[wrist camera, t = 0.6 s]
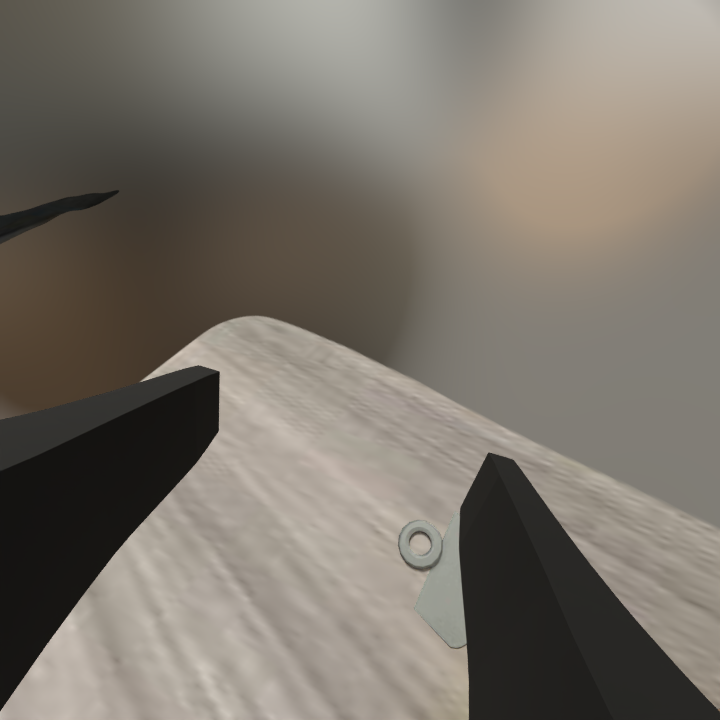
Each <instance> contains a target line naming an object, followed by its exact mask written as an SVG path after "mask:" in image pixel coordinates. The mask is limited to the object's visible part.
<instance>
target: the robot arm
mask: <svg viewBox="0 0 720 720" xmlns="http://www.w3.org/2000/svg"><path fill="white" fill-rule="evenodd" d="M219 375H220V372H219V371H216V370H212V369H209V368H206V367H202V366H199V365H198V366H194V367H189V368H186V369H182V370H179V371H175V372H172V373H169V374H165V375H162V376H159V377H156V378H152V379H149V380H146V381H143V382H140V383H136V384H133V385H130V386H127V387H123V388H120V389H117V390H114V391H111V392H107V393H104V394H100V395H96V396H93V397H89V398H85V399H82V400H78V401H75V402H71V403H67V404H64V405H60V406H57V407H53V408H49V409H45V410H41V411H37V412H33V413H28V414H25V415H20V416H16V417H12V418H6V419H2V420H0V711H1V709H2V708H3V707H4V705H5V704H6V702H7V701H8V699H9V698H10V696H11V695H12V694H13V692H14V691H15V689H16V688H17V686H18V685H19V684H20V682H21V681H22V679H23V678H24V676H25V675H26V674H27V672H28V671H29V669H30V668H31V666H32V665H33V663H34V662H35V661H36V659H37V658H38V656H39V655H40V653H41V652H42V651H43V649H44V648H45V646H46V645H47V643H48V642H49V641H50V639H51V638H52V637H53V635H54V634H55V633H56V631H57V630H58V628H59V627H60V626H61V624H62V623H63V622H64V620H65V619H66V618H67V616H68V615H69V613H70V612H71V611H72V609H73V608H74V607H75V605H76V604H77V603H78V601H79V600H80V598H81V597H82V596H83V594H84V593H85V592H86V590H87V589H88V588H89V587H90V585H91V584H92V583H93V581H94V580H95V579H96V577H97V576H98V575H99V574H100V572H101V571H102V570H103V568H104V567H105V566H106V564H107V563H108V562H109V561H110V559H111V558H112V557H113V555H114V554H115V553H116V552H117V550H118V549H119V548H120V547H121V546H122V545H123V543H124V542H125V541H126V540H127V539H128V538H129V536H130V535H131V534H132V533H133V532H134V531H135V530H136V529H137V528H138V526H139V525H140V524H141V523H142V522H143V521H144V520H145V519H146V518H147V517H148V516H149V514H150V513H151V512H152V511H153V510H154V509H155V508H156V507H157V506H158V505H159V504H160V502H161V501H162V500H163V499H164V498H165V497H166V496H167V495H168V494H169V493H170V492H171V490H172V489H173V488H174V487H175V486H176V485H177V484H178V483H179V482H180V481H181V479H182V478H183V477H184V476H185V475H186V474H187V473H188V472H189V471H190V469H191V468H192V467H193V466H194V465H195V464H196V463H197V461H198V460H199V459H200V457H201V456H202V454H203V453H204V452H205V450H206V449H207V448H208V446H209V445H210V443H211V442H212V440H213V439H214V437H215V436H216V434H217V433H218V431H219ZM459 558H460V571H461V583H462V595H463V607H464V618H465V630H466V642H467V653H468V673H469V720H720V711H719V710H718V709H717V708H716V707H715V706H714V705H713V704H712V703H711V702H710V701H709V700H708V699H707V698H706V697H705V696H704V695H703V694H702V693H701V692H700V691H699V689H698V688H697V687H696V686H695V685H694V684H693V683H692V682H691V681H690V680H689V679H688V678H687V677H686V676H685V675H684V673H683V672H682V671H681V670H680V669H679V668H678V667H677V666H676V665H675V664H674V662H673V661H672V660H671V659H670V658H669V657H668V656H667V655H666V653H665V652H664V651H663V650H662V649H661V648H660V647H659V646H658V644H657V643H656V642H655V641H654V640H653V639H652V638H651V637H650V635H649V634H648V633H647V632H646V631H645V630H644V629H643V628H642V626H641V625H640V624H639V623H638V622H637V621H636V620H635V618H634V617H633V616H632V615H631V614H630V612H629V611H628V610H627V609H626V608H625V607H624V605H623V604H622V603H621V602H620V601H619V599H618V598H617V597H616V596H615V594H614V593H613V592H612V591H611V589H610V588H609V587H608V586H607V585H606V583H605V582H604V581H603V580H602V578H601V577H600V576H599V575H598V573H597V572H596V571H595V570H594V568H593V567H592V566H591V565H590V563H589V562H588V561H587V559H586V558H585V557H584V556H583V554H582V553H581V552H580V550H579V549H578V548H577V546H576V545H575V544H574V542H573V541H572V540H571V538H570V537H569V536H568V534H567V533H566V532H565V530H564V529H563V528H562V526H561V525H560V523H559V522H558V521H557V519H556V518H555V517H554V515H553V514H552V512H551V511H550V510H549V508H548V507H547V505H546V504H545V503H544V501H543V500H542V498H541V497H540V496H539V494H538V493H537V491H536V490H535V489H534V487H533V486H532V484H531V483H530V482H529V480H528V479H527V477H526V476H525V475H524V473H523V472H522V470H521V469H520V468H519V466H518V465H517V464H516V462H515V461H514V460H513V459H509V458H506V457H503V456H499V455H496V454H493V453H489V452H488V454H487V456H486V458H485V460H484V462H483V464H482V466H481V468H480V470H479V472H478V474H477V476H476V478H475V480H474V482H473V484H472V486H471V488H470V490H469V492H468V494H467V496H466V498H465V500H464V502H463V504H462V506H461V508H460V525H459Z"/></svg>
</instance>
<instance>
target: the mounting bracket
mask: <svg viewBox="0 0 720 720" xmlns="http://www.w3.org/2000/svg"><path fill="white" fill-rule="evenodd" d="M459 525H460V515H459V514H458V513H457V512H454V514H453V517H452V519H451V521H450V524H449V526H448V529H447V531H446V533H445V536H444V538H443V540H442V538H441V535H440V532H439V531H438V530H437V529H436V528H435V526H434V525H432V524H430V523H428V522H427V521H422V520H416V521H412V522H409V523H408V524H407V525H406V526H405V527H404V528H403V529H402V531H401V533H400V535H399V542H398V546H399V550H400V554H401V556H402V557H403V558H404V560H405V561H406V563H408V564H410V565H411V566H413V567H414V568H420V569H425V568H429V567H431V569H430V571H429V574H428V576H427V578H426V581H425V583H424V586H423V588H422V590H421V593H420V595H419V597H418V600H417V602H416V605H415V607H414V610H415V611H416V612H417V613H418V614H419V615H420V616H421V617H422V618H423V619H424V620H425V621H426V622H427V623H428V624H429V625H430V626H431V627H432V628H433V629H434V630H435V631H436V632H437V634H438V635H439V636H440V637H441V638H442V639H443V640H444V641H445V642H446V643H447V644H448V645H449V646H450V647H454V648H458V647H462V646H463V645H465V644H466V643H467V642H466V630H465V618H464V607H463V595H462V583H461V571H460V558H459ZM418 531H421V532H424V533H426V534H427V535H428V536H429V537H430V540H431V548H430V550H429V551H428V552H427V553H426V554H424V555H417V554H415V553H414V552H413V551H412V550H411V549H410V546H409V539H410V537H411V535H412V534H413V533H414V532H418Z"/></svg>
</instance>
